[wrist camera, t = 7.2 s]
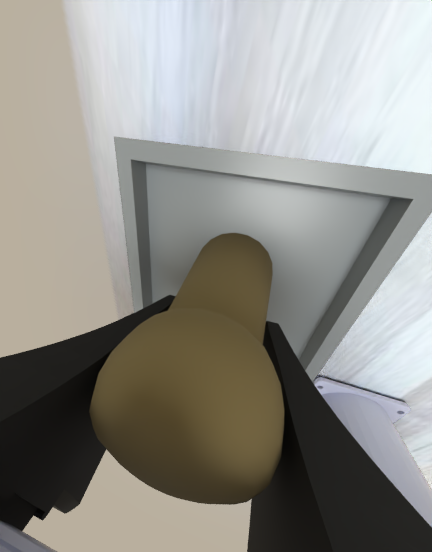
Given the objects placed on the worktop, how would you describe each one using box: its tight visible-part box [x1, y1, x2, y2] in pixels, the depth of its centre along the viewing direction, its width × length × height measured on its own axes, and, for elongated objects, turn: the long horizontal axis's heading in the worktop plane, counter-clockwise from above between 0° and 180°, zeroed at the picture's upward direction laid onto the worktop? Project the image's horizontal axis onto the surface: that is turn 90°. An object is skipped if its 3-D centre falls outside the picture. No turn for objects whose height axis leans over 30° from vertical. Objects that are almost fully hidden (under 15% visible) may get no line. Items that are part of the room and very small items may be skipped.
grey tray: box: [114, 137, 432, 382], centre depth 13 cm, size 17×17×2 cm
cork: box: [89, 233, 284, 504], centre depth 8 cm, size 6×6×11 cm
